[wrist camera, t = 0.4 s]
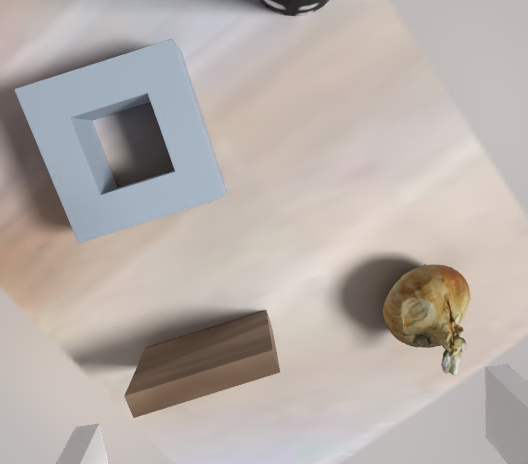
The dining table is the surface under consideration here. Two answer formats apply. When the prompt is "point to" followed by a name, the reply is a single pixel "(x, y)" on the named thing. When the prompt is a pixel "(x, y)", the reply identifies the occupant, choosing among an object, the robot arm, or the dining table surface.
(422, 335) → the onion
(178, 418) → the dining table surface
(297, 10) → the white-spotted black cylinder
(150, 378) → the walnut wall
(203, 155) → the socket block
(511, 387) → the robot arm
